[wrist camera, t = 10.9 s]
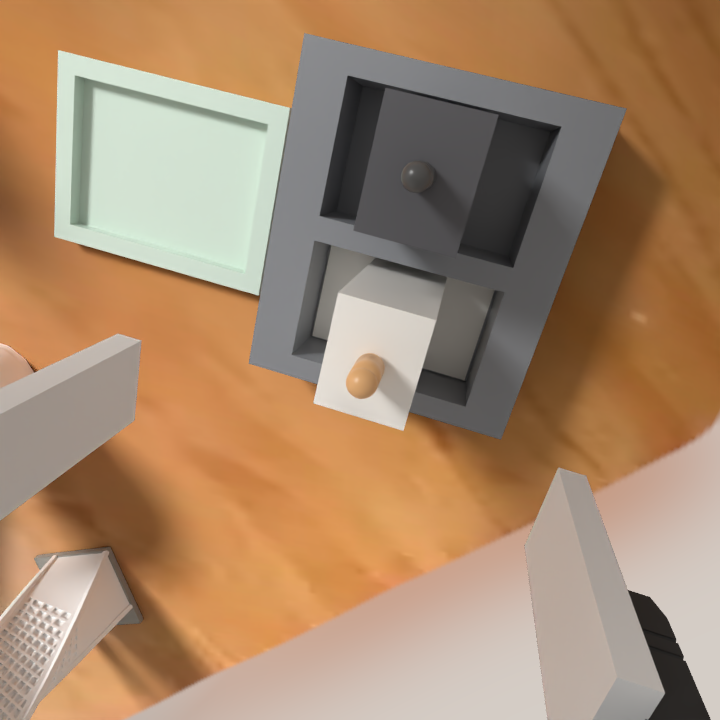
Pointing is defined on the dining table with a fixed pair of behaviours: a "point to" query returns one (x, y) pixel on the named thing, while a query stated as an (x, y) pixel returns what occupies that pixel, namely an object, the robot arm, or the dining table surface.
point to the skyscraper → (59, 624)
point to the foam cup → (12, 366)
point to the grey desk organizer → (429, 215)
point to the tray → (167, 171)
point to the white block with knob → (379, 342)
